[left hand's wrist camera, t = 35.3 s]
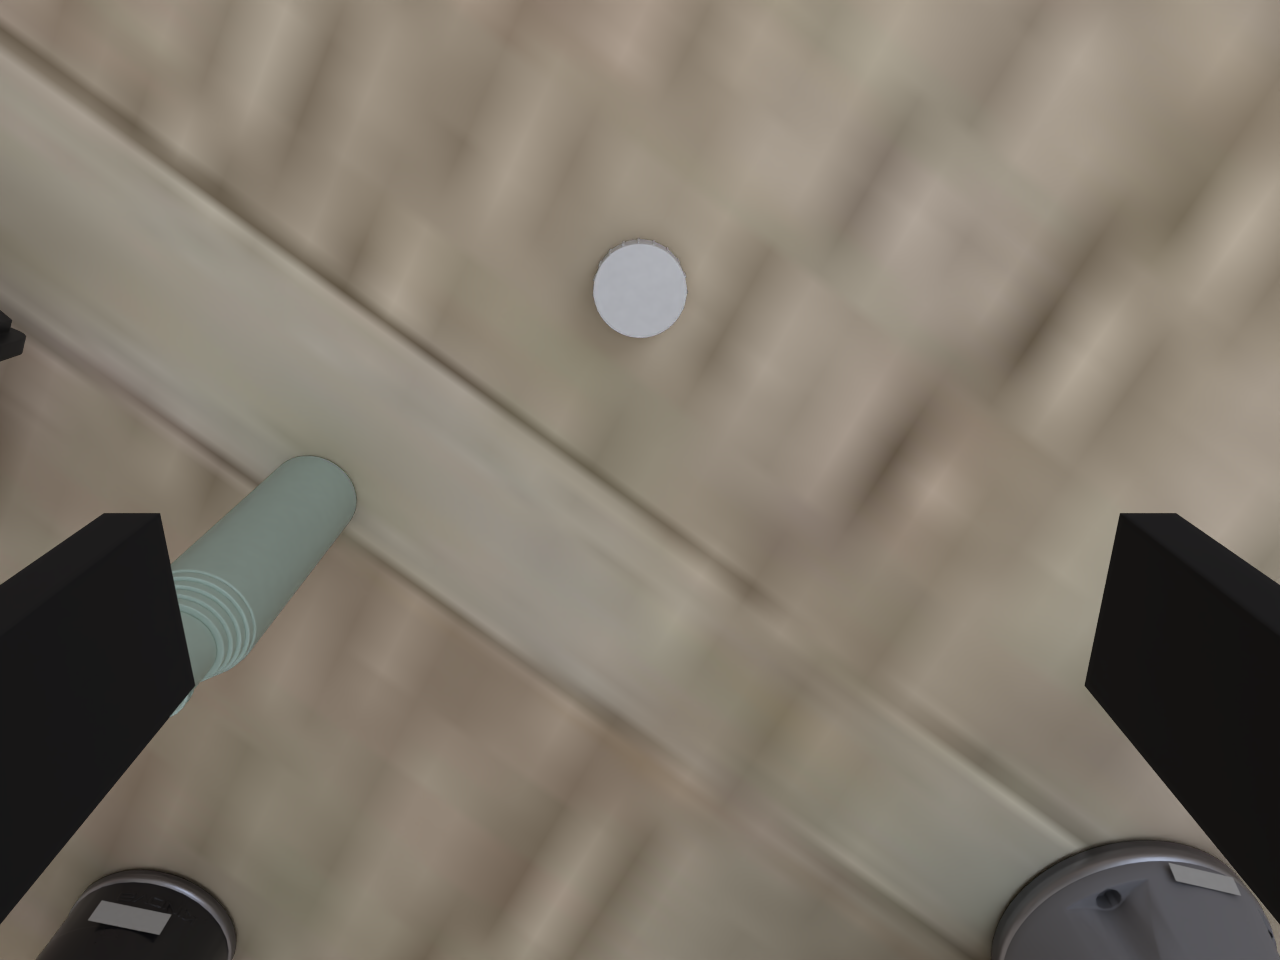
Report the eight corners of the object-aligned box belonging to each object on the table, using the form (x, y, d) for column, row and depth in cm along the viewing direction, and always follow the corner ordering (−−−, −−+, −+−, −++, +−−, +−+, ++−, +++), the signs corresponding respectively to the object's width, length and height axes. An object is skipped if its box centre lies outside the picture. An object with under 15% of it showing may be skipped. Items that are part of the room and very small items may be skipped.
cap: (702, 301, 40) (705, 309, 38) (623, 347, 41) (623, 356, 39) (657, 220, 39) (658, 224, 37) (576, 268, 39) (574, 274, 38)
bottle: (275, 533, 44) (84, 737, 29) (265, 453, 42) (60, 625, 27) (360, 536, 44) (214, 741, 29) (353, 456, 43) (196, 629, 27)
